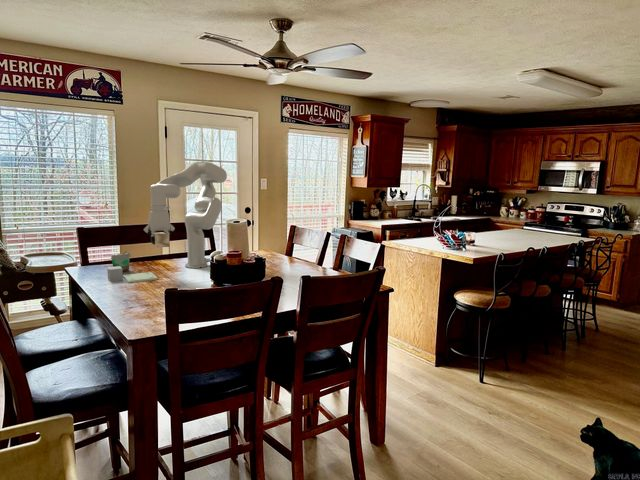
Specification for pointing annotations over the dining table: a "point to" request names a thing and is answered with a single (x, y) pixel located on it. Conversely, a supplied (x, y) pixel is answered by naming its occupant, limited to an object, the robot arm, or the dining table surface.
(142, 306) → the dining table surface
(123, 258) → the food container
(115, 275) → the grey cube
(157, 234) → the beech block
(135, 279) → the baseplate
